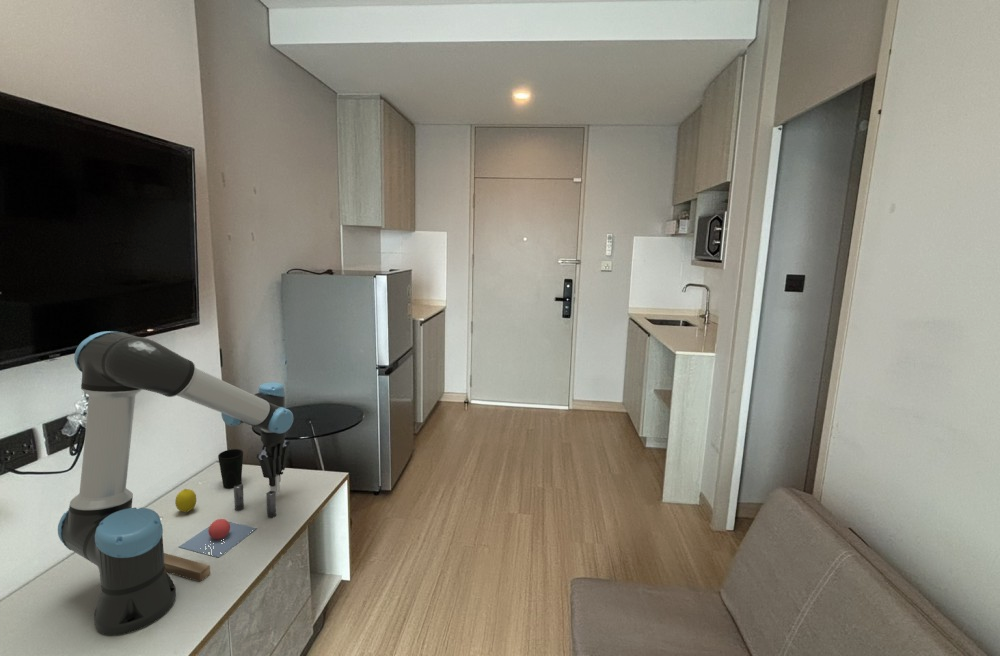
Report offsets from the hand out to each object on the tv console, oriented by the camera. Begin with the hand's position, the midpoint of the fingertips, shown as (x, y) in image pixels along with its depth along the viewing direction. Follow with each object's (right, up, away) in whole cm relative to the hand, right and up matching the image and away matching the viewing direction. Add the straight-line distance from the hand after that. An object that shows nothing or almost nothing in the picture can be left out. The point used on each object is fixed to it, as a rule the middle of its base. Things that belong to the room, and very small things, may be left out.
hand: (275, 492), depth 156 cm
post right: (+4, -4, -10) cm, 11 cm away
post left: (-8, -3, -7) cm, 11 cm away
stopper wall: (-9, -8, -35) cm, 37 cm away
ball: (-6, -3, -22) cm, 23 cm away
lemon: (-23, -3, -10) cm, 26 cm away
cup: (-19, 0, +7) cm, 20 cm away
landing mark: (-6, -5, -22) cm, 23 cm away
